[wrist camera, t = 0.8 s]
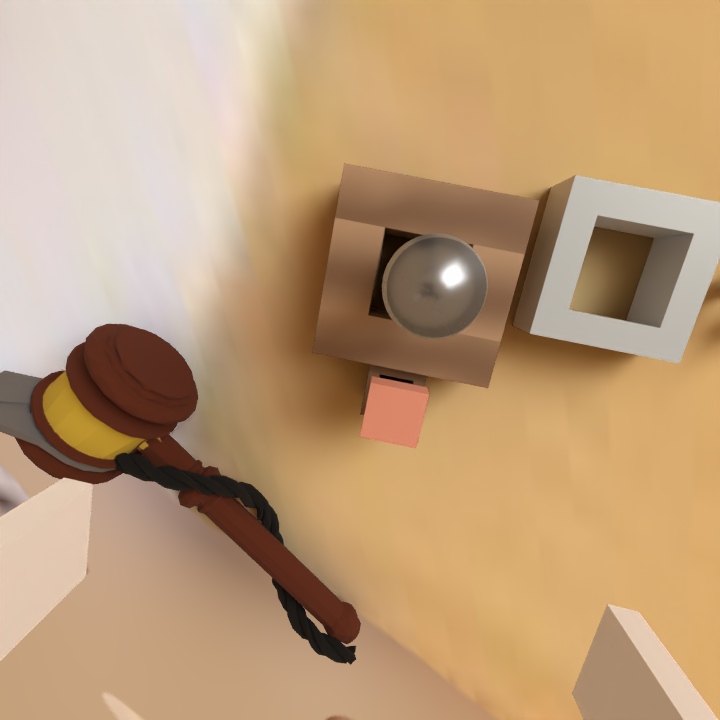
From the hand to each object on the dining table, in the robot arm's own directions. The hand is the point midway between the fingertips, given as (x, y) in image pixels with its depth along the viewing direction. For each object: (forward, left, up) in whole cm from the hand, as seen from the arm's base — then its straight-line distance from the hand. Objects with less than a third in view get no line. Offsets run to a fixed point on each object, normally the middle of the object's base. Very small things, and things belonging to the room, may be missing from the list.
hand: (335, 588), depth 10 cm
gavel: (+13, -10, -24) cm, 29 cm away
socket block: (-5, +2, -23) cm, 24 cm away
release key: (+1, +2, -20) cm, 20 cm away
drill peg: (-7, +2, -23) cm, 24 cm away
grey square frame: (-10, +15, -23) cm, 29 cm away
